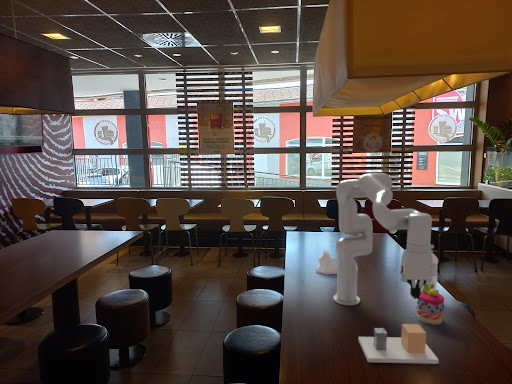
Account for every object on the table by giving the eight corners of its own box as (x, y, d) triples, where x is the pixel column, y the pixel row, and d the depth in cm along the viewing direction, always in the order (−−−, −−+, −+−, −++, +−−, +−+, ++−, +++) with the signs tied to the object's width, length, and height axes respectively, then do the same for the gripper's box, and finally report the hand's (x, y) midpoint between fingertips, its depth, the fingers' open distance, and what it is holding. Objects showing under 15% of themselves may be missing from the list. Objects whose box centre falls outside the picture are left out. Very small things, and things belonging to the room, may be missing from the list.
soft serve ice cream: (332, 279, 202) (327, 257, 199) (312, 275, 214) (307, 254, 211) (344, 269, 210) (340, 248, 207) (324, 265, 222) (320, 245, 218)
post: (373, 348, 131) (373, 327, 130) (382, 348, 131) (383, 328, 130) (375, 353, 127) (376, 333, 126) (386, 353, 127) (386, 333, 126)
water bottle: (423, 295, 177) (426, 247, 174) (437, 299, 172) (440, 250, 169) (417, 299, 172) (420, 250, 169) (432, 304, 167) (435, 253, 164)
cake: (448, 323, 149) (451, 289, 147) (428, 326, 146) (430, 292, 144) (430, 312, 159) (432, 280, 157) (410, 315, 156) (412, 283, 154)
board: (358, 340, 136) (358, 336, 136) (421, 341, 135) (421, 337, 135) (368, 362, 122) (368, 358, 122) (438, 363, 121) (438, 359, 121)
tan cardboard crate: (401, 342, 132) (402, 323, 131) (417, 343, 131) (419, 324, 130) (407, 352, 125) (408, 332, 124) (425, 352, 125) (426, 332, 124)
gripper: (434, 245, 127) (431, 293, 129) (392, 244, 128) (390, 292, 130) (444, 251, 120) (441, 302, 122) (400, 250, 120) (397, 301, 123)
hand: (415, 297), depth 126 cm, fingers closed
